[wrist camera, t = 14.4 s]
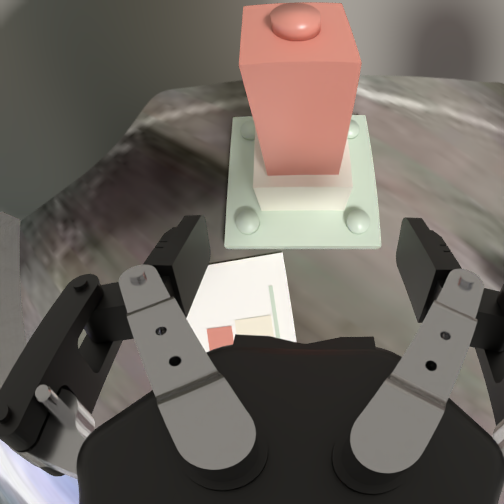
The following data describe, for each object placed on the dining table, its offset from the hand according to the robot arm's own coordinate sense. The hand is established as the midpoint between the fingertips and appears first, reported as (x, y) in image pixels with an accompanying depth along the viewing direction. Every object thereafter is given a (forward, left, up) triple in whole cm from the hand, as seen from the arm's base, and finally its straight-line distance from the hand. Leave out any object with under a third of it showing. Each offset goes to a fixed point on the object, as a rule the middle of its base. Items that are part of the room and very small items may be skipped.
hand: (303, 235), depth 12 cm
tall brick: (0, -8, -6) cm, 10 cm away
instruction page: (+5, +5, -12) cm, 14 cm away
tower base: (0, -8, -12) cm, 14 cm away
